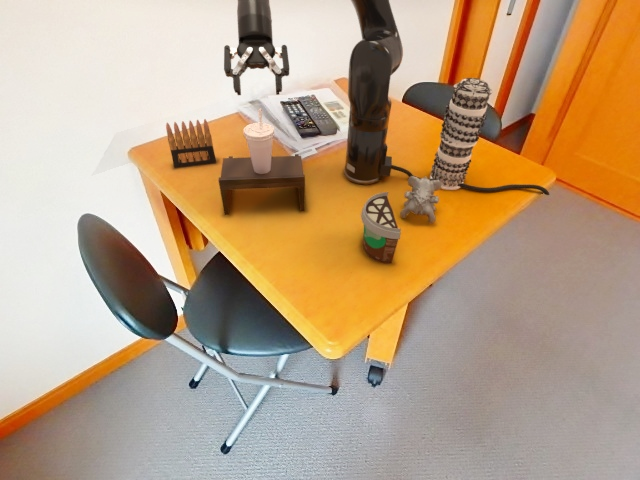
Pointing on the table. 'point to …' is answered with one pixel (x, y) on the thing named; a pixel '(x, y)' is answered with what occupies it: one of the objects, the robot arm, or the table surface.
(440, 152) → the white patterned cylinder
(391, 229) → the food container
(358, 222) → the table surface
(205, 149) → the ammunition clip
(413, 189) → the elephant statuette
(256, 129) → the smoothie
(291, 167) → the stand
